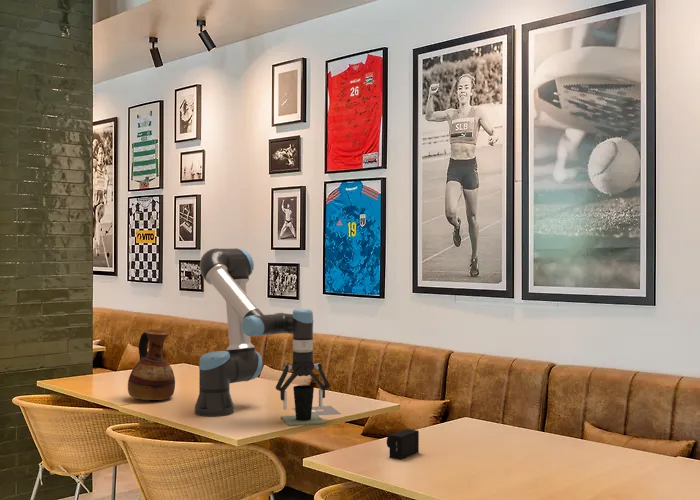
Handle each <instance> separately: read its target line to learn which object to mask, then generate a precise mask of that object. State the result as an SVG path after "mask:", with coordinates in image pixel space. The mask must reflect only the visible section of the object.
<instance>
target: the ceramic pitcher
mask: <svg viewBox="0 0 700 500" xmlns="http://www.w3.org/2000/svg"><path fill="white" fill-rule="evenodd" d="M169 335H170V331H167V330H164V329H153V328H150V329H148V330H146V329H145V331H144V332H143V333H142V334H141V336H140V339H139V342H138V354H139V361H138V362H137V364H135V366H134V367H133V368H132V370H131V372H130V374H129V377H128V380H127V392H128V394H129V396H130V397H132V398H133V399H135V400H138V399H141V400H140V401H143V400H159V401H164V400H167V399H169V398H171V397H173V395H174V392H175V389H176V388H175V387H176V379H175V378H176V377H175V374H174V371H173V368H172V366H171V365H170V363H169V362H168V360H166V359H165V357H164V356H163V355H164V354H163V348H164V343H165V341H166V338H168V336H169Z"/></svg>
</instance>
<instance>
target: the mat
mask: <svg viewBox="0 0 700 500" xmlns="http://www.w3.org/2000/svg"><path fill="white" fill-rule="evenodd" d="M280 419H281V420H282V421H283V422H284V423H285V424H286V426H288V427H296V426H297V427H298V426H308V425H309V426H310V425H312V426H313V425H326V424H327V422H326V421H325V419H323V418H322V417H321V416H320V415H317V414H313V415H311V420H307V421H299V420H296V415H285V416H283V415H282V416H280Z"/></svg>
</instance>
